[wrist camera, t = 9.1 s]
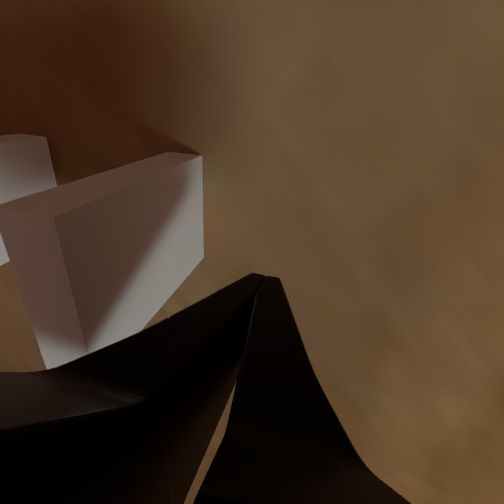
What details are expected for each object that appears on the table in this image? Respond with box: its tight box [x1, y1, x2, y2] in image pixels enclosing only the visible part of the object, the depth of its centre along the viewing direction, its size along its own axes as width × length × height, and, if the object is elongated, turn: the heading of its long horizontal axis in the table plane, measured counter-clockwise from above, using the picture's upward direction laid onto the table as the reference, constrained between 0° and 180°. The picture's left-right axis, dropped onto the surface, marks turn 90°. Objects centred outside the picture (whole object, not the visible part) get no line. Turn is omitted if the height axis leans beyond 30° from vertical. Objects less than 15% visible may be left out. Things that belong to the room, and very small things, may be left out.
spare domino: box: [0, 152, 204, 369], centre depth 11 cm, size 2×5×8 cm, turn 178°
